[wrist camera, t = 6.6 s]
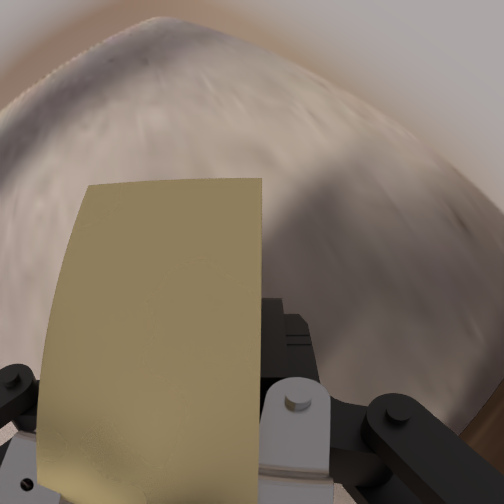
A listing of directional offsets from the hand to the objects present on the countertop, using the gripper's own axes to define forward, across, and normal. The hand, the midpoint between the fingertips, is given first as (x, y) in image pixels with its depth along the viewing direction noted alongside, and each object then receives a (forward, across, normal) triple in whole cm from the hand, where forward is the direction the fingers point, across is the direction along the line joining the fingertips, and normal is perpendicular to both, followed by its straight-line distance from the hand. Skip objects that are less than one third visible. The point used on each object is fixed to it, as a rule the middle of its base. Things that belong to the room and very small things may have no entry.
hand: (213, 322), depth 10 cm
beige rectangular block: (+1, 0, +4) cm, 4 cm away
